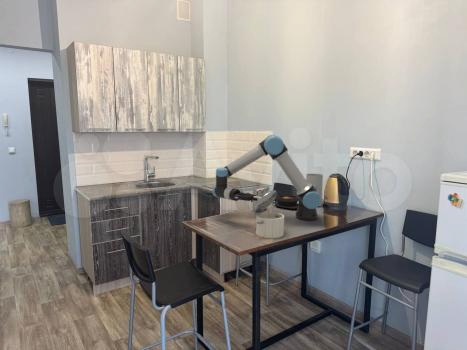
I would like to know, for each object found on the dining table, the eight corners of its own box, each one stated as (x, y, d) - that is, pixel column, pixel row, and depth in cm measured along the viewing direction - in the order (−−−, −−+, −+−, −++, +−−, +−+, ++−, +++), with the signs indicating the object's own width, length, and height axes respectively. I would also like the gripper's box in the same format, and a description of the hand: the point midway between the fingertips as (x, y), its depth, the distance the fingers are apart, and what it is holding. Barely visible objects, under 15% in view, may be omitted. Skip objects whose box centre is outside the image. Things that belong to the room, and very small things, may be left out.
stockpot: (245, 234, 195) (245, 216, 194) (268, 226, 213) (268, 209, 211) (269, 241, 184) (270, 222, 183) (292, 231, 202) (292, 214, 200)
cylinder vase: (322, 204, 270) (323, 174, 267) (320, 208, 259) (321, 176, 255) (306, 203, 275) (307, 173, 271) (303, 206, 263) (305, 175, 260)
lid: (249, 215, 196) (248, 213, 196) (266, 210, 208) (265, 208, 209) (265, 194, 187) (263, 192, 187) (282, 189, 200) (280, 187, 200)
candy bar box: (261, 208, 257) (261, 187, 254) (266, 209, 253) (267, 188, 251) (252, 211, 248) (252, 189, 246) (257, 212, 245) (257, 190, 243)
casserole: (307, 208, 258) (308, 198, 257) (290, 212, 247) (290, 201, 246) (284, 202, 278) (285, 192, 277) (267, 205, 268) (268, 195, 266)
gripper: (239, 198, 219) (268, 204, 204) (225, 201, 210) (255, 208, 194) (239, 187, 218) (269, 192, 203) (225, 189, 209) (256, 195, 193)
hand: (262, 200), depth 199 cm, fingers closed
